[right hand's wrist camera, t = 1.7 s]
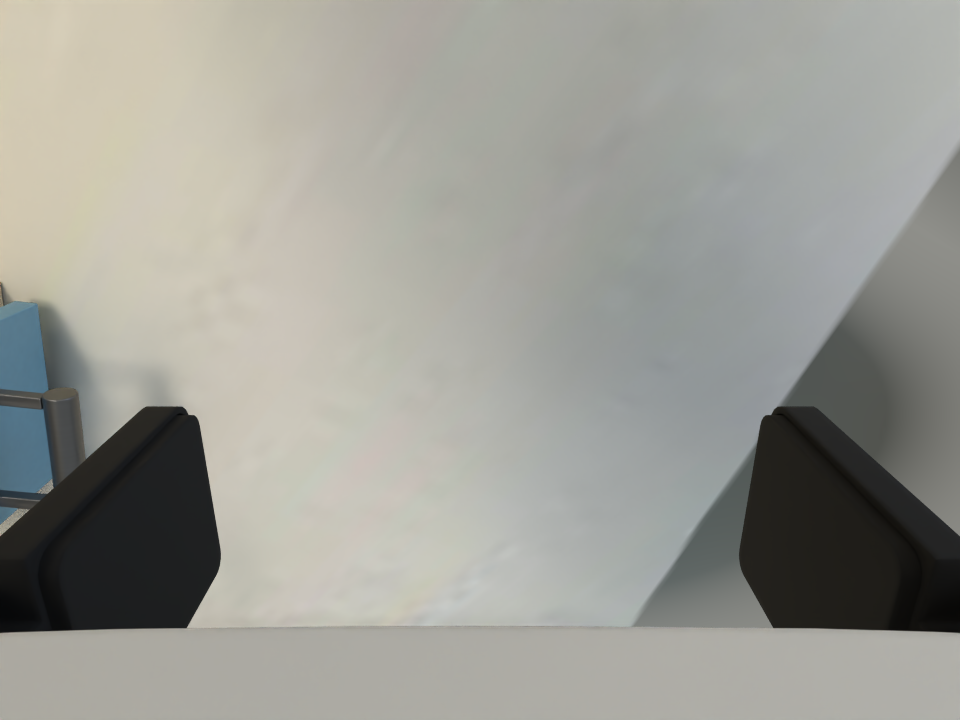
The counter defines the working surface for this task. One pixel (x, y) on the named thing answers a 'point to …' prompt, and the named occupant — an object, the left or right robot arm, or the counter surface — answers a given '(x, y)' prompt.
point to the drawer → (32, 415)
